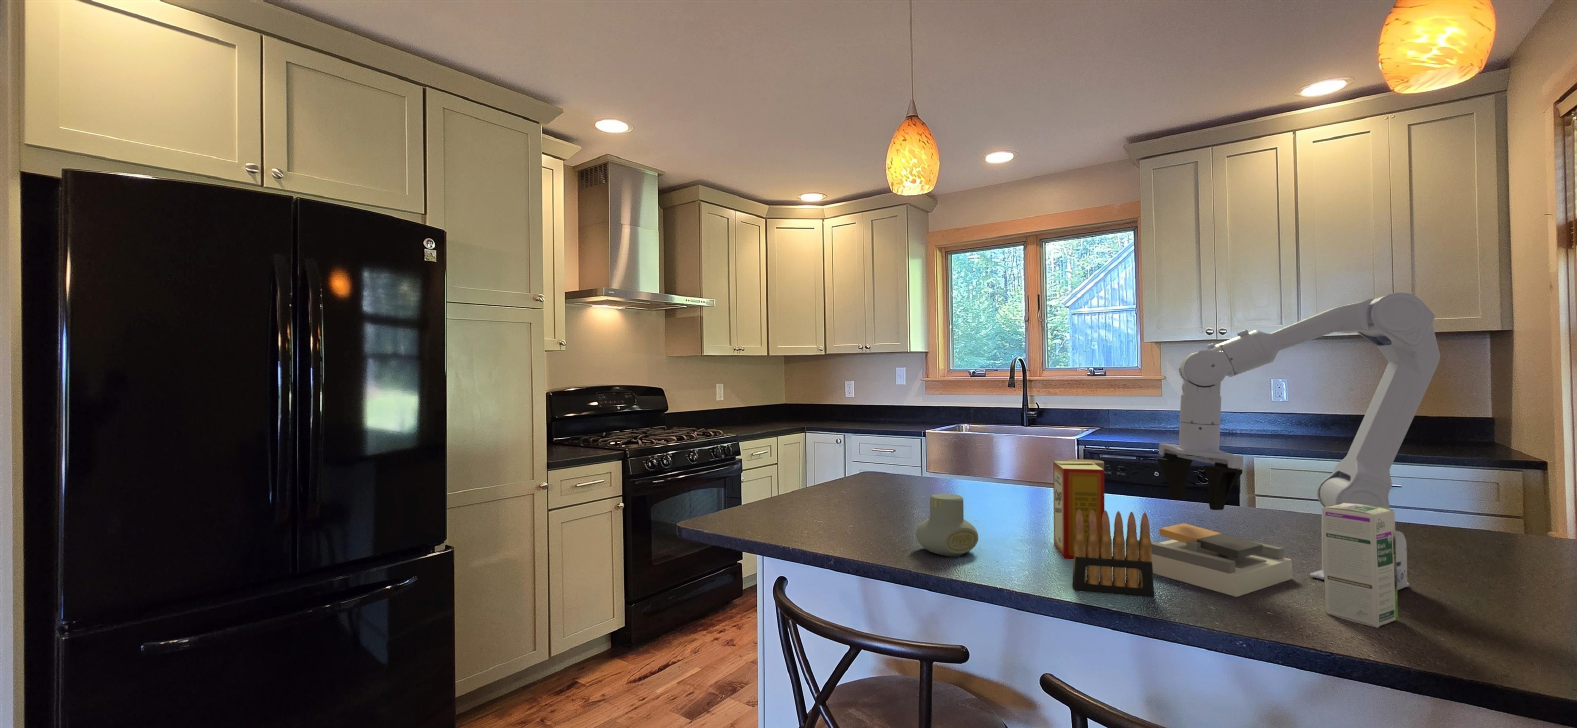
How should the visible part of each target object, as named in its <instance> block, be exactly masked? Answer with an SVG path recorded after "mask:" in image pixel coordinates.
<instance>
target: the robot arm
mask: <svg viewBox="0 0 1577 728" xmlns="http://www.w3.org/2000/svg"><path fill="white" fill-rule="evenodd" d="M1435 318H1436V315H1435V313H1434V312H1433V311H1432V310H1431V309H1430V308H1429V307H1428V306H1427V304H1426V303H1424V302H1423V300H1422V299H1421V298H1420V297H1417V296H1416V295H1414V294H1411V293H1407V292H1392V293H1388V294H1385V295H1383V296H1380V297H1372V298H1371V297H1370V298H1366V299H1365V300H1362V301H1358V302H1357V301H1356V302H1353V303H1349V304H1345V305H1340V306H1337V307H1332V308H1329V309H1326V310H1324V311H1322V312H1319V313H1317V314H1314V315H1311V316H1309V317H1307V318H1304V319H1301V320H1300V321H1297V322H1295V323H1292V324H1289V325H1288V326H1287V325H1286V326H1284V327H1281V328H1280V329H1277V330H1274V331H1272V332H1269V333H1268V332H1264V331H1261V330H1258V329H1254V330H1252V331H1248V329H1244V330H1241V331H1239V332H1237V333H1236V335H1237V336H1235V337H1233V338H1231V339H1230V338H1229V339H1228V340H1225V341H1223V342H1220V343H1217V344H1214V342H1212V343H1209V344H1207V345H1206V346H1205V347H1206V349H1202V350H1199V351H1197V352H1196V351H1195V352H1193V353H1189V354H1188V355H1187V356H1185V357H1184V359H1182V362H1181V364H1180V366H1179V367H1178V373H1179V375H1180V377H1181V379H1182V384H1181V395H1180V408H1179V409H1180V410H1179V435H1178V436H1179V439H1178V444H1174V443H1167V442H1166V443H1165V442H1164V443H1161V442H1160V443H1158V454H1159V455H1162V457H1157V463H1158V465H1159V466H1160V468H1161V469H1162V472H1163V474H1164V477H1165V479H1166V482H1167V483H1166V484H1167V487H1168V491H1169V494H1170V498H1171V500H1185V496H1186V489H1187V478H1188V474H1189V470H1190V468H1191V465H1192V463H1193V461H1198V462H1201V463H1206V464H1207V463H1208V464H1212V465H1203V471H1204V472H1205V475H1206V479H1207V484H1208V485H1207V486H1208V505H1209V509H1210V510H1212V511H1222V510H1223V511H1224V508H1225V505H1226V503H1227V501H1228V498H1229V495H1230V494H1231V493H1230V492H1231V490H1232V488H1233V486H1234V485H1235V483H1236V482H1237V481H1238V479H1239V478H1241V476H1242V474H1243V468H1244V455H1240V454H1239V455H1238V454H1233V453H1230V452H1227V451H1223V450H1220V441H1221V440H1220V438H1221V436H1220V435H1221V415H1222V412H1221V411H1222V410H1221V409H1222V396H1221V385H1222V381H1224V379H1225V378H1226V376H1227V377H1229V378H1232V377H1235V376H1238V375H1241V374H1243V373H1246V372H1249V371H1251V370H1254V369H1256V368H1257V369H1258V368H1260V367H1262V366H1265V365H1268V364H1271V363H1273V362H1274V361H1275V359H1276V357H1277V354H1278V353H1279V352H1280V351H1282V350H1285V349H1288V348H1291V347H1294V346H1297V345H1300V344H1303V343H1306V342H1309V341H1311V340H1314V339H1319V338H1321V337H1324V336H1326V335H1330V334H1333V333H1339V334H1352V333H1357V334H1359V336H1361V337H1362V338H1363V339H1366V340H1368V341H1369V342H1371V343H1372V344H1374V345H1375V346H1376V348H1377V349H1378V350H1379V351H1380V353H1381V354H1382V355H1383V357H1384V358H1385V359H1386V360H1387V365H1386V368H1385V370H1384V373H1383V375H1382V376H1381V379H1380V381H1379V383H1378V385H1377V388H1376V390H1375V392H1374V394H1373V397H1372V398H1371V401H1370V403H1369V406H1368V408H1367V409H1366V412H1365V414H1364V416H1363V419H1362V421H1361V423H1360V425H1359V428H1358V429H1357V432H1356V435H1355V437H1354V438H1353V440H1352V442H1351V444H1350V447H1349V450H1348V452H1347V454H1346V456H1345V457H1344V458H1343V459H1341V460H1340V461H1339V462H1338V463H1337V464H1336V465H1335V467H1334V469H1333V471H1332V472H1331V473H1330V475H1329V476H1328V477H1325V478H1324V479H1322V481H1321V482H1320V483H1319V484H1318V486H1317V490H1316V496H1317V499H1318V502H1319V503H1320V504H1321V506H1322V508H1324V507H1330V506H1335V505H1340V504H1342V503H1350V504H1363V505H1371V506H1377V507H1382V508H1387V509H1390V508H1391V506H1390V500H1389V495H1390V494H1389V493H1390V492H1391V489H1392V486H1393V482H1392V478H1391V473H1390V472H1391V471H1390V470H1391V468H1392V465H1393V463H1394V461H1395V458H1396V457H1397V454H1398V452H1399V450H1400V447H1402V443H1403V442H1404V439H1405V438H1406V435H1407V433H1408V431H1409V428H1410V426H1411V424H1412V422H1413V420H1414V418H1415V416H1416V413H1417V411H1418V409H1419V407H1420V404H1421V402H1422V400H1423V398H1424V396H1425V394H1426V391H1427V389H1428V388H1429V385H1430V383H1431V381H1432V378H1433V377H1434V375H1435V373H1436V370H1437V368H1438V367H1439V366H1438V365H1439V364H1440V359H1441V353H1440V350H1439V349H1440V348H1439V345H1438V340H1437V338H1436V332H1435V328H1434V322H1435ZM1395 539H1396V566H1397V591H1399V590H1402V589H1404V588H1406V587H1409V586H1410V583H1409V582H1408V548H1407V547H1408V546H1407V540H1406V537H1405V535H1404V533H1403V532H1401V531H1399V530H1395ZM1309 576H1310V577H1312V578H1316V579H1320V580H1324V553H1323V516H1322V515H1321V569H1320V570H1316V571H1314V572H1311V573H1310V574H1309Z"/></svg>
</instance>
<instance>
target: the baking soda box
mask: <svg viewBox="0 0 1577 728" xmlns="http://www.w3.org/2000/svg"><path fill="white" fill-rule="evenodd" d="M1052 465H1053V469H1052V470H1053V473H1052V474H1053V477H1052V478H1053V480H1052V481H1053V482H1052V483H1053V489H1052V490H1053V492H1052V493H1053V546H1054V547H1055V548H1056V549H1057V551H1058V553H1060V555H1061V557H1062V559H1063V560H1074V534H1075V520H1076V515H1077V511H1078V510H1079V509H1080V510H1081V512H1082V516H1083V522H1084V534H1085V540H1086V554H1087V535H1088V521H1089V515H1090V512H1091V510H1093V511H1094V513H1095V516H1096V522H1097V535H1098V540H1099V555H1100V536H1101V522H1102V516H1103V513H1104V511H1105V510H1106V509H1105V468H1104V469H1102V468H1100V467H1099V466H1097V465H1095V464H1094V463H1092V462H1077V461H1067V460H1064V461H1063V460H1053V461H1052Z"/></svg>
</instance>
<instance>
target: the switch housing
mask: <svg viewBox="0 0 1577 728" xmlns="http://www.w3.org/2000/svg"><path fill="white" fill-rule="evenodd" d="M1137 540H1138V558H1139V539H1137ZM1250 541H1251V542H1255V543H1259V544H1262V545H1263V549H1262V552H1261V553H1258V554H1254V555H1250V556H1247V557H1243V558H1239V559H1237V558H1233V557H1230V556H1227V555H1223V554H1220V553H1217V552H1213V551H1210V550H1206V549H1203V548H1201V543H1199V542H1194V541H1187V544H1186V543H1183V542H1180V541H1176V540H1173V539H1168V540H1165V541H1161V542H1156V541H1154V540H1153V541H1152V540H1151V546H1152V567H1153V575H1154V574H1155V575H1157V576H1162V577H1165V578H1169V579H1172V580H1175V581H1179V582H1183V583H1187V584H1190V585H1194V586H1196V587H1200V588H1203V589H1208V590H1211V591H1215V592H1218V593H1221V594H1225V595H1229V596H1232V597H1236V598H1237V597H1240V596H1243V595H1246V594H1247V595H1248V594H1250V593H1252V592H1253V593H1254V592H1256V591H1258V590H1262V589H1265V588H1268V587H1271V586H1275V585H1278V584H1281V583H1284V582H1287V581H1290V580H1292V579H1293V559H1290V558H1286V557H1285V552H1284V551H1285V548H1284V547H1280V546H1276V545H1271V544H1266V543H1262V542H1257V541H1254V540H1250Z"/></svg>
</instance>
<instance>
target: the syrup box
mask: <svg viewBox="0 0 1577 728" xmlns="http://www.w3.org/2000/svg"><path fill="white" fill-rule="evenodd" d="M1321 511H1322V515H1321V517H1322V516H1323V553H1324V609H1325V613H1326V614H1328V615H1330V616H1333V617H1336V618H1340V619H1343V620H1347V621H1349V622H1353V623H1357V624H1360V625H1364V626H1368V627H1372V628H1376V629H1378V628H1380V626H1383V625H1386V624H1390V623H1391V622H1395V621H1397V620H1399V602H1398V601H1399V599H1398V590H1397V566H1396V539H1395V531H1396V520H1395V519H1396V516H1395V511H1394V510H1393V509H1387V508H1382V507H1377V506H1371V505H1363V504H1350V503H1342V504H1340V505H1335V506H1330V507H1322V508H1321Z"/></svg>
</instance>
